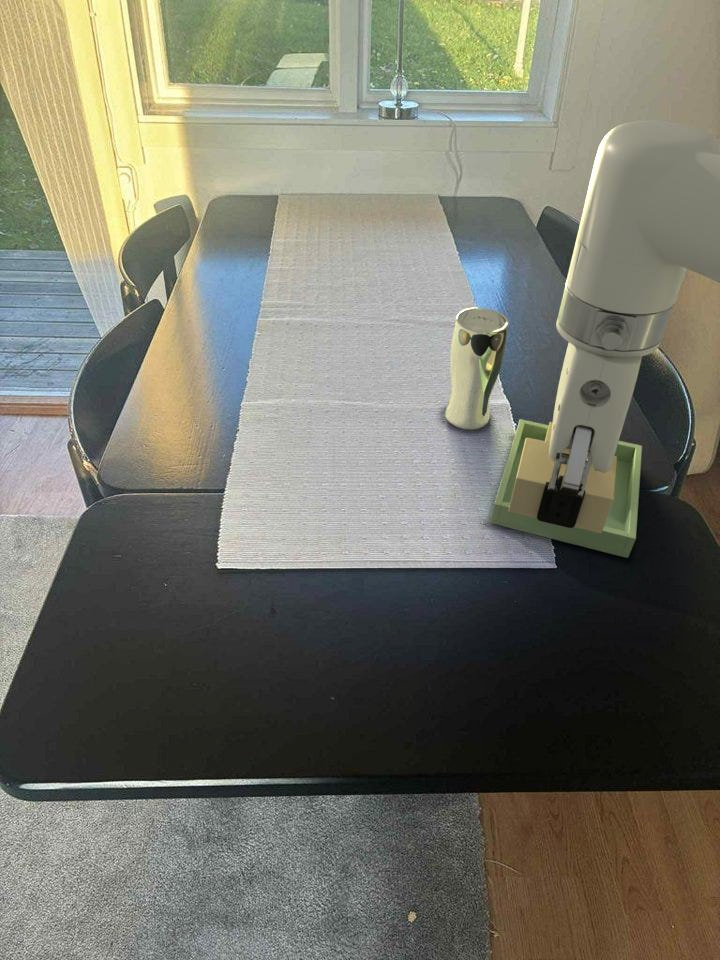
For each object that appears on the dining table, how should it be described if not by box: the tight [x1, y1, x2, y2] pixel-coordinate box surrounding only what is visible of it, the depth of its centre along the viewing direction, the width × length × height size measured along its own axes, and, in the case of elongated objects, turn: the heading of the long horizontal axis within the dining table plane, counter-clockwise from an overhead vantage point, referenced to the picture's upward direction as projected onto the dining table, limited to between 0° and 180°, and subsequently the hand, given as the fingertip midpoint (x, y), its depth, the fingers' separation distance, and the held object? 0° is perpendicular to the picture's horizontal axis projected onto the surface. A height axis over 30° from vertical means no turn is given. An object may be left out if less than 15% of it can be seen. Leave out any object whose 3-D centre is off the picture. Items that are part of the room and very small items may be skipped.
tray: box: [490, 418, 643, 559], centre depth 85 cm, size 16×18×3 cm
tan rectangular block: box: [509, 438, 617, 533], centre depth 61 cm, size 8×6×4 cm
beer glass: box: [444, 307, 510, 430], centre depth 93 cm, size 7×7×15 cm
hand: (559, 495), depth 62 cm, fingers closed on tan rectangular block, 6 cm apart
